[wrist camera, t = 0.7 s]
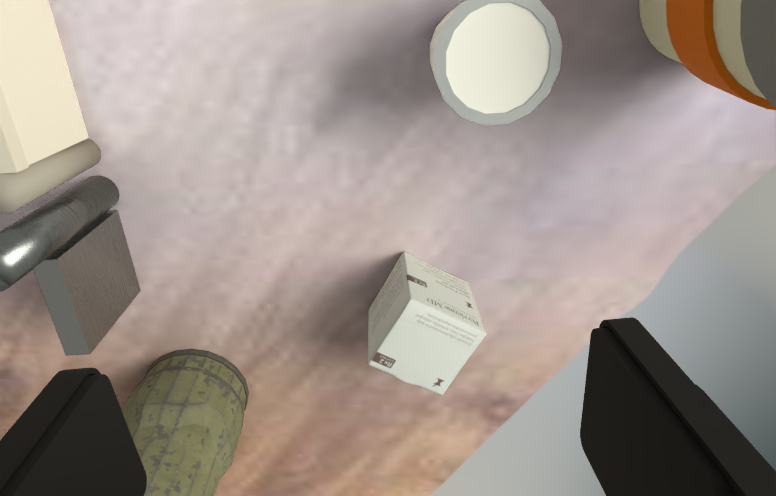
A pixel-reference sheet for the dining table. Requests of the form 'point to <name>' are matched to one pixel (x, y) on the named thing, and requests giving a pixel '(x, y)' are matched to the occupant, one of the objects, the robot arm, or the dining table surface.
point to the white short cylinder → (496, 58)
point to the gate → (37, 108)
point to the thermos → (187, 421)
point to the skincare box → (423, 325)
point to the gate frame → (74, 262)
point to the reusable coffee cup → (719, 42)
